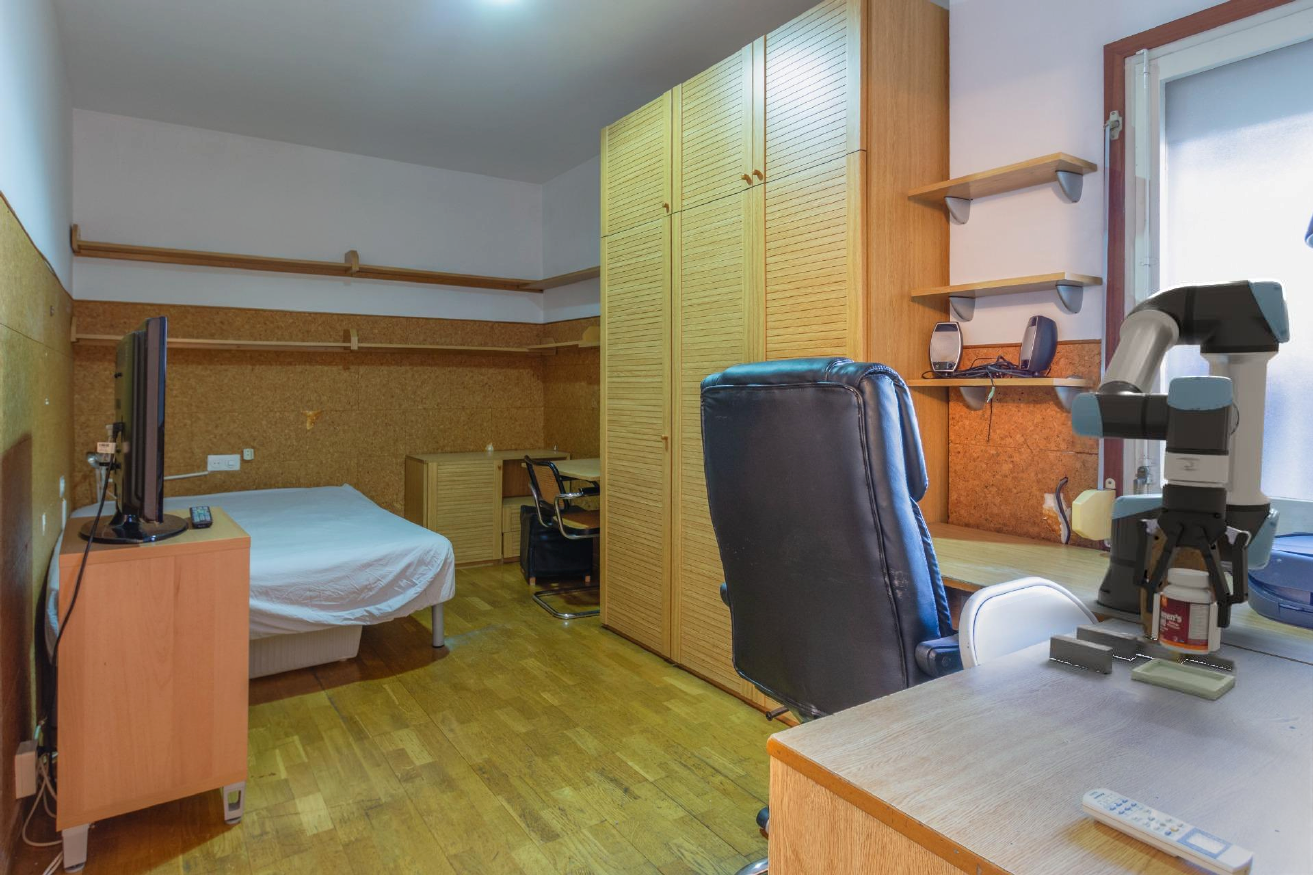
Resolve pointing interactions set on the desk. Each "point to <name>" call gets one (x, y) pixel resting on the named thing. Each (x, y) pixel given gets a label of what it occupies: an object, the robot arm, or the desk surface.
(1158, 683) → the tray
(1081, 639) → the socket
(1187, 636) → the pill bottle
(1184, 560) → the block
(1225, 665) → the rail
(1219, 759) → the desk surface
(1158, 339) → the robot arm
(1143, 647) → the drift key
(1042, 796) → the desk surface
